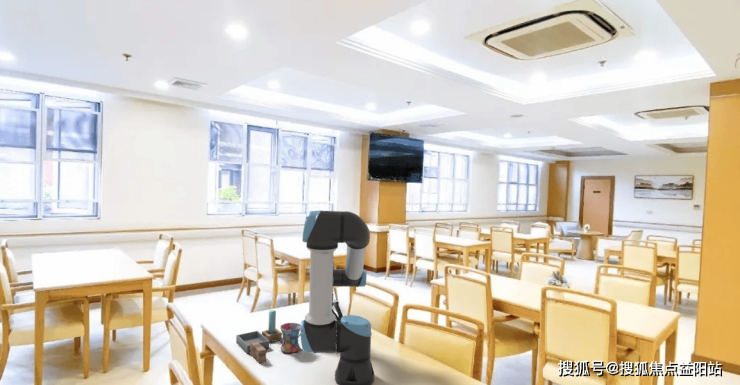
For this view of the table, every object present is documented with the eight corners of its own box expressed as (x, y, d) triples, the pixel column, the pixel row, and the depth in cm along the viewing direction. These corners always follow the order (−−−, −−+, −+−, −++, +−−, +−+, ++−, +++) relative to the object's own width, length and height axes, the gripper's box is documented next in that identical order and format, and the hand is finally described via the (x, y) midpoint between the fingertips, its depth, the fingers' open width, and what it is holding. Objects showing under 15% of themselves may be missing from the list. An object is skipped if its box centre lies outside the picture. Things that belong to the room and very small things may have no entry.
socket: (281, 339, 182) (281, 332, 182) (267, 342, 178) (267, 336, 178) (275, 334, 187) (275, 328, 187) (261, 337, 183) (261, 331, 183)
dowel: (276, 338, 182) (276, 311, 182) (269, 340, 180) (270, 312, 180) (273, 336, 185) (274, 309, 184) (267, 337, 183) (267, 310, 183)
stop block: (265, 361, 159) (266, 349, 159) (258, 363, 157) (259, 351, 157) (256, 352, 167) (257, 341, 167) (250, 354, 165) (250, 342, 165)
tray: (269, 348, 171) (269, 340, 171) (246, 353, 165) (247, 345, 165) (257, 337, 182) (257, 330, 182) (236, 342, 176) (236, 335, 176)
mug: (289, 356, 164) (290, 332, 164) (275, 350, 170) (275, 326, 169) (309, 347, 174) (310, 324, 174) (295, 342, 179) (295, 319, 179)
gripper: (343, 287, 192) (341, 329, 192) (297, 294, 177) (296, 340, 177) (351, 291, 186) (350, 334, 186) (305, 298, 171) (303, 346, 171)
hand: (323, 337), depth 181 cm, fingers open, 13 cm apart
